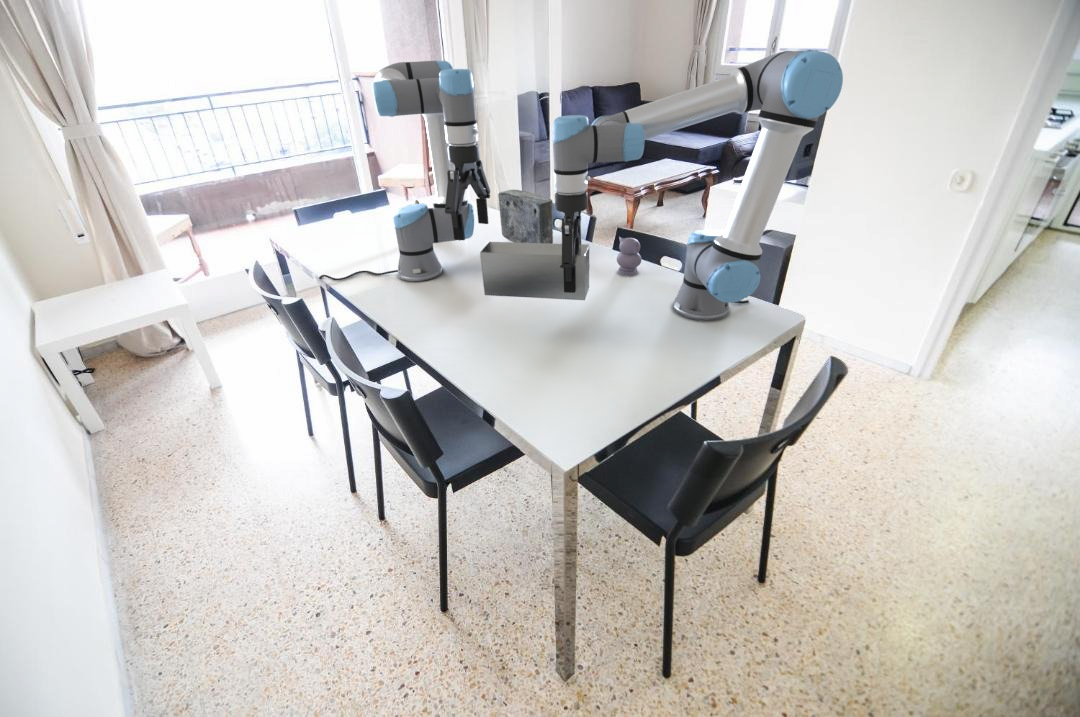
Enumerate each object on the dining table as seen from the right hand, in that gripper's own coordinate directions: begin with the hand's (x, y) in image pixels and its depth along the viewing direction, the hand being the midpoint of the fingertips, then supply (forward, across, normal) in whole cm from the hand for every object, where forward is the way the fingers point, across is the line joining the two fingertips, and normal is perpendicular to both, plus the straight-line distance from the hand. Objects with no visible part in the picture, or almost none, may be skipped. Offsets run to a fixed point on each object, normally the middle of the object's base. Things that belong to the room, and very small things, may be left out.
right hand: (572, 284), depth 124 cm
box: (+2, 0, +9) cm, 9 cm away
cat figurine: (+16, +49, -11) cm, 52 cm away
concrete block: (+15, +70, +29) cm, 77 cm away
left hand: (-11, +7, +28) cm, 30 cm away
